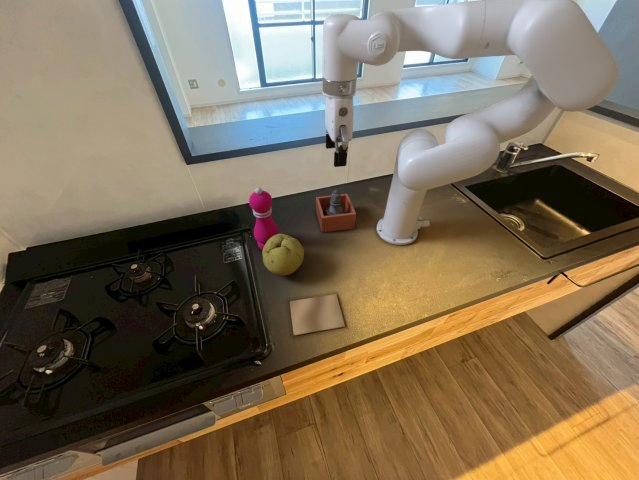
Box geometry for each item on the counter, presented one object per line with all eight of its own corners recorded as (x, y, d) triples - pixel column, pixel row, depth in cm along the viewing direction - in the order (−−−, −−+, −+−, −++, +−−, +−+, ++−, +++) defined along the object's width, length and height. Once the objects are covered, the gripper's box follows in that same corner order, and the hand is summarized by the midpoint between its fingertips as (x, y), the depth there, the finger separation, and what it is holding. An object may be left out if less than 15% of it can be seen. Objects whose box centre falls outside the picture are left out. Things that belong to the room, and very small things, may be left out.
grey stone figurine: (342, 226, 89) (344, 196, 81) (324, 224, 90) (324, 193, 82) (344, 215, 93) (347, 184, 85) (327, 212, 94) (328, 182, 86)
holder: (346, 207, 96) (347, 193, 92) (354, 228, 89) (356, 213, 85) (315, 211, 95) (315, 197, 90) (321, 232, 87) (321, 218, 83)
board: (336, 294, 71) (336, 293, 71) (345, 326, 65) (345, 326, 65) (289, 302, 70) (289, 301, 69) (293, 335, 64) (293, 335, 63)
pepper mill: (285, 240, 85) (278, 185, 71) (270, 255, 81) (259, 200, 66) (267, 232, 88) (257, 177, 73) (251, 246, 83) (237, 190, 69)
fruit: (302, 249, 82) (301, 224, 75) (307, 281, 74) (305, 256, 67) (264, 253, 81) (259, 228, 74) (265, 286, 73) (259, 261, 66)
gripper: (367, 98, 57) (358, 172, 69) (345, 73, 68) (341, 140, 81) (331, 101, 55) (328, 175, 68) (315, 75, 67) (315, 142, 80)
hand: (335, 156), depth 74 cm, fingers open, 9 cm apart
